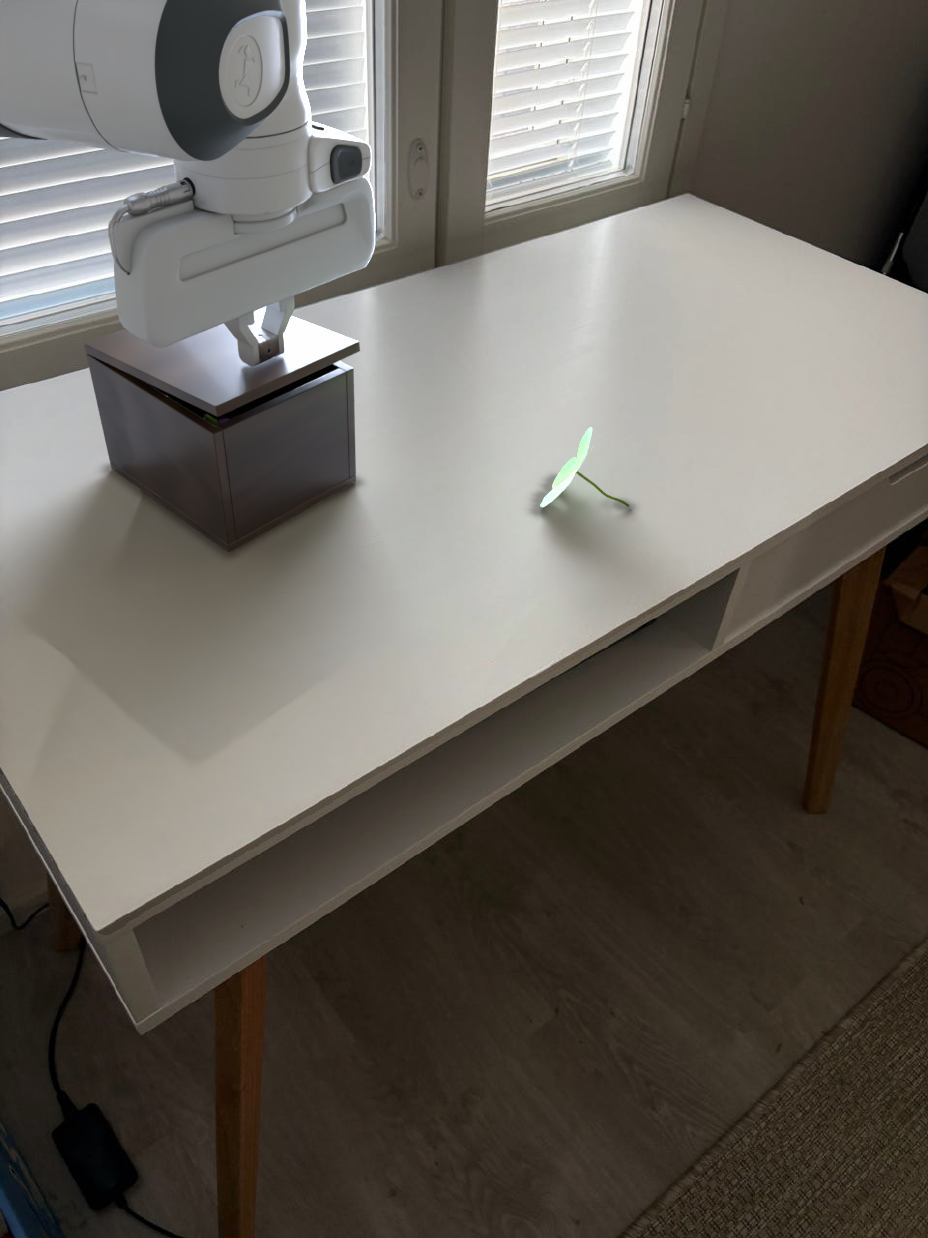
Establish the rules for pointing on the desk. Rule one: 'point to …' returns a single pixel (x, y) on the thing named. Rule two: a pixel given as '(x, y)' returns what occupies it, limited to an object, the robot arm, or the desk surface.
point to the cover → (222, 362)
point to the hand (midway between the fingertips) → (262, 357)
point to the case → (232, 450)
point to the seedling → (573, 472)
